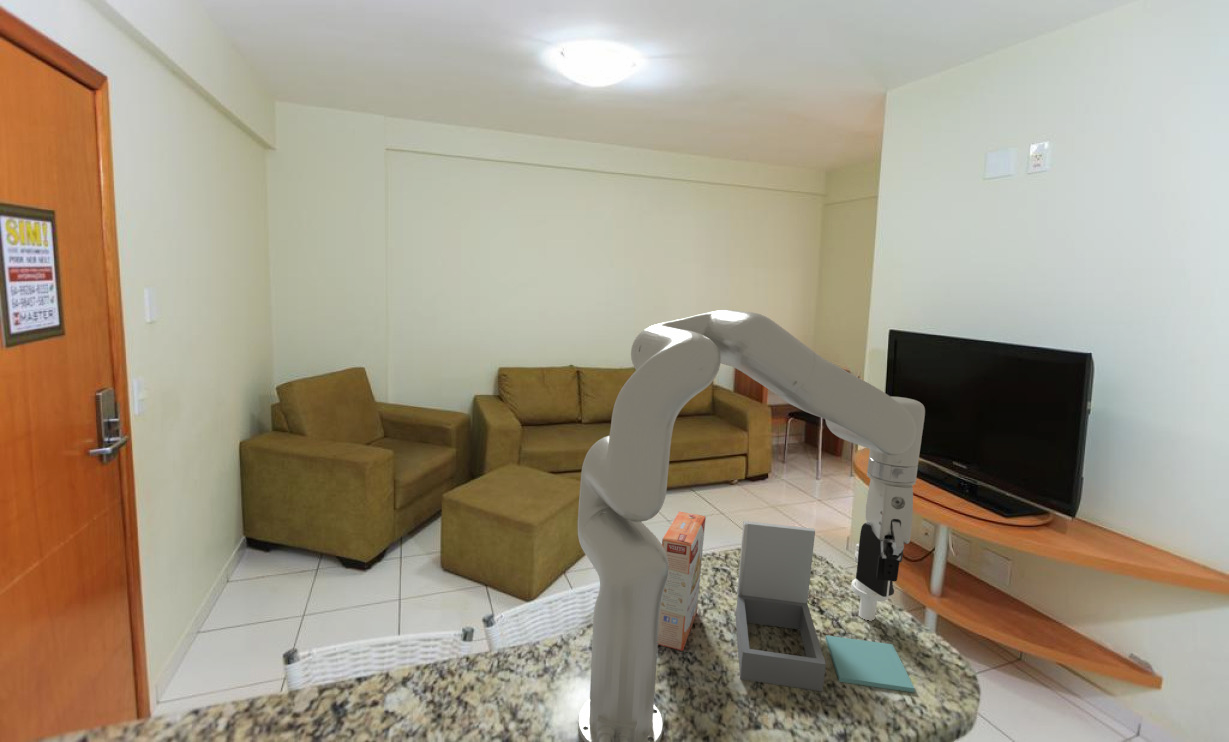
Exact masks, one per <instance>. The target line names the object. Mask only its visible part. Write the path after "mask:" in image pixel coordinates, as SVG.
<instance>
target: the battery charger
mask: <svg viewBox="0 0 1229 742" xmlns="http://www.w3.org/2000/svg"><path fill="white" fill-rule="evenodd" d="M885 539H892V536H888V535H887V536H885ZM858 544H859V551H858V562H857V564H856V565H857V566H856V573H855V579H857V580H858V581H860V582H861V583H862V584H864V585H865V586H867V587H868V588H869V589H871V590H873V591H874V592H876V593H877V594H879V595H881V596H882V597H888V596H889V597H890V596H893V595H894V594H895V588H894V585H893V584H894V581H887V580H879V579H877V577H876V572H877V564H878V556H881V540H879V539H878V538H877V537H876V535H875V534H874V532H873V531H872V527H871V524H870V523H869V522H867V521H866V522H865V523H863V524H862V526H861V528H860V533H859V542H858ZM889 547H892V543H886V550H887V549H888V548H889ZM903 556H904V550H903V551H902V554H901V559H900V562H899V563H902V562H903Z"/></svg>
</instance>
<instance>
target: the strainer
mask: <svg viewBox="0 0 1229 742" xmlns="http://www.w3.org/2000/svg"><path fill="white" fill-rule="evenodd" d="M858 551H859V542H858V543H856V545H855V551H854V552H855V554H854V562H855V563H858ZM850 588H851V591H852V592H853V593H854V594H855V595H856V596H858V597H860V601H859V610H858V617H859V616H860V617H861V619H862V618H863V619H862V620H864V619H865V620H864V621H867V620H869V621H868V622H873V621H872V620H874V619H875V620H876V611H877V605H878V602H885V601H887V600H889V598H890V596H888V597H882V596H881V595H879V594H877V593H876V592H874V591H873V590H871V589H869V588H868V587H867V586H865V585H864V584H862V583H861V582H860V581H858V580H857V579H856V578H854V579H852V581H851V587H850ZM860 617H859V618H860ZM875 620H874V621H875Z"/></svg>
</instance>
